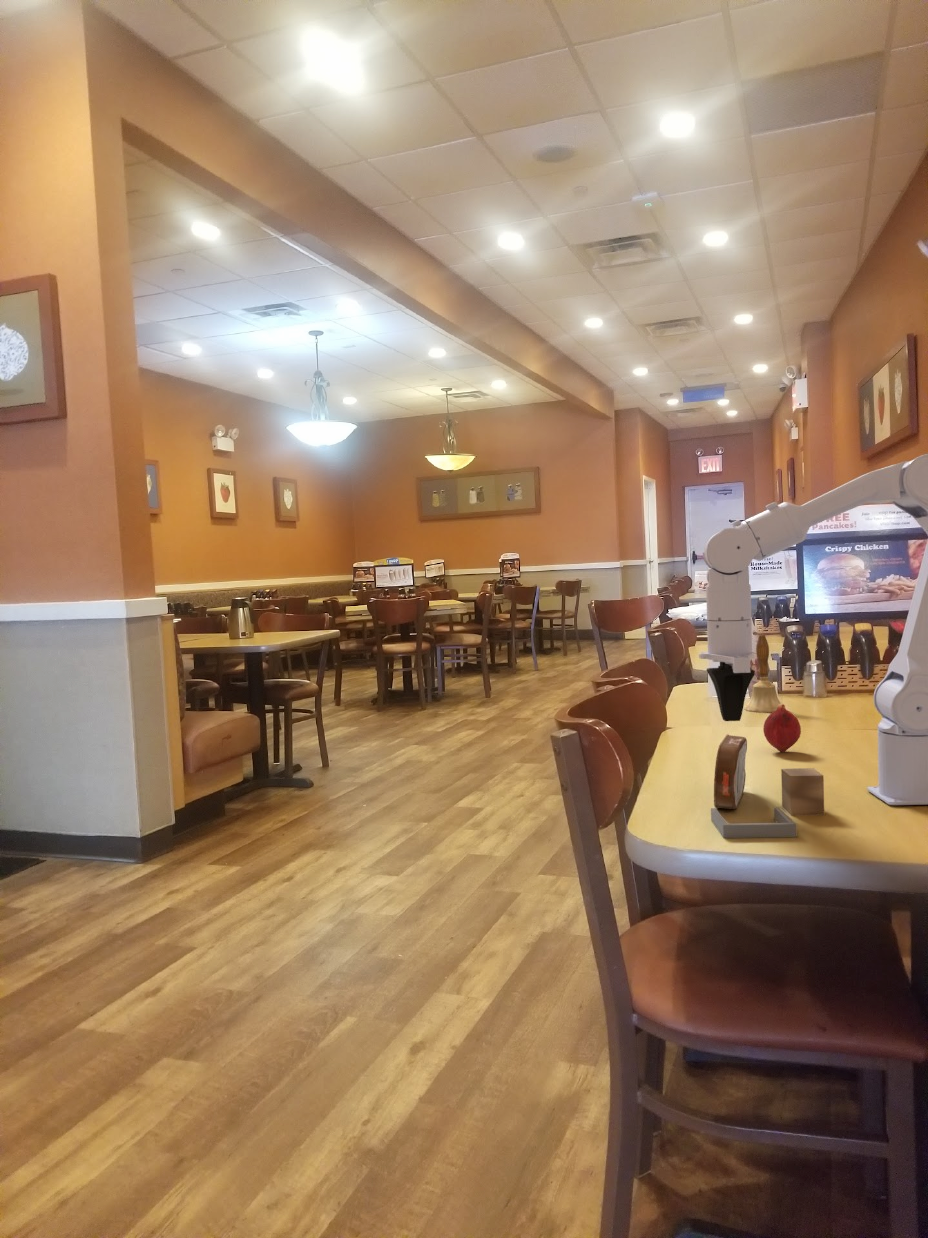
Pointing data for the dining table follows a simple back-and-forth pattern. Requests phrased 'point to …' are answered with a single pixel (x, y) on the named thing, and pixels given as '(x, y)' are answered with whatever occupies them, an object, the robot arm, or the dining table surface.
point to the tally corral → (755, 826)
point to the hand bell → (763, 683)
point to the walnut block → (802, 791)
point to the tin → (730, 772)
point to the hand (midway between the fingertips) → (731, 720)
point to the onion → (782, 729)
